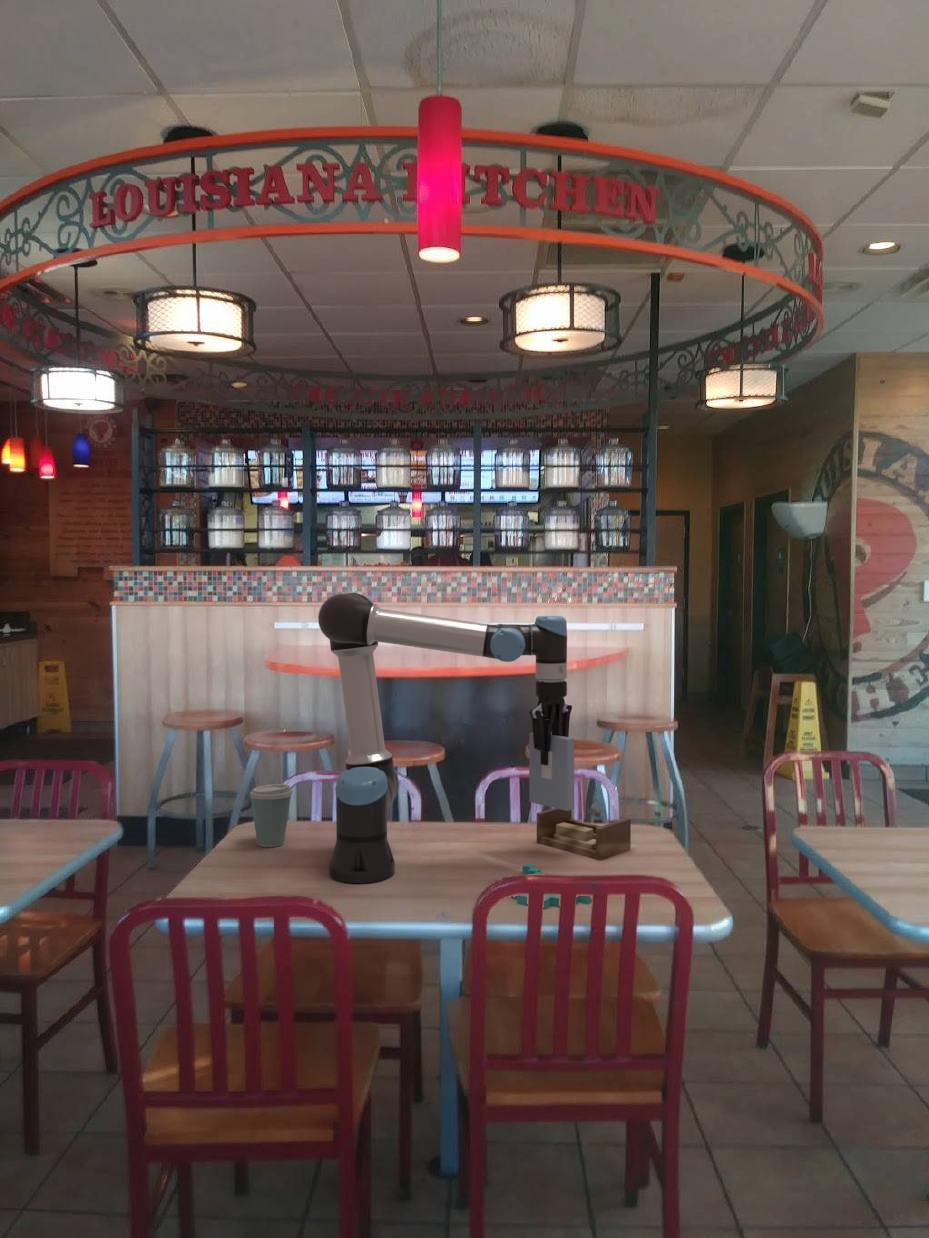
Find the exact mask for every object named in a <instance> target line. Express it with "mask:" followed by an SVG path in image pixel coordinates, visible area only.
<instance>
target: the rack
mask: <svg viewBox="0 0 929 1238" xmlns="http://www.w3.org/2000/svg"><path fill="white" fill-rule="evenodd" d="M631 820H632V819H631V818H627V817H626V818H625V817H624V818H623V819H619V820H617V821H613V822H611V823H607V824H604V825H597V824H594V823H590V822H585V821H582V820H578V819H573V818H572V810H569V811H566V810H561V809H557V808H553V807H552V808H548V809H546V810H543V811H539V812H537V813H536V843H537V844H540V845H544V846H547V847H551V848H554V849H558V850H561V851H564V852H565V851H566V852H569V853H572V854H576V855H578V856H582V857H586V858H590V859H593V860H595V861H596V860H597V861H604V860H607V859H609V858H612V857H614V856H617V855H620V854H623V853H626V852H629V851H631V844H632V843H631V842H632V841H631V836H632V835H631V834H632V833H631V831H632V830H631V827H632V822H631ZM563 822H564V823H569V824H573V825H578V826H582V827H587V828H592V829H593V839H595V840H596V850H592V849H589V848H585V847H582V846H578V845H574V844H571V843H567V842H563V841H560V840H556V839H554V834H556V825H557V824H560V823H563Z"/></svg>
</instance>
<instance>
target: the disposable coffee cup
mask: <svg viewBox="0 0 929 1238" xmlns="http://www.w3.org/2000/svg"><path fill="white" fill-rule="evenodd" d="M292 795H293V790H292V789H291V785H290V784H286V783H278V784H267V785H266V784H265V785H260V786H257V787H254V788H253V789H252V790H251V791H250V793H249V797H250V801H251V802H250V803H251V808H252V815H253V823H254V829H255V837H256V842H257V845H258V846H259V847H262V848H275V847H279V846H283V844H284V842H285V838H286V831H287V826H288V824H287V823H288V819H289V818H288V817H289V811H290V804H291V797H292Z"/></svg>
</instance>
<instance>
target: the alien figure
mask: <svg viewBox="0 0 929 1238" xmlns="http://www.w3.org/2000/svg"><path fill="white" fill-rule="evenodd" d="M535 866H536V864H535V863H528V862H526V863H525V864H523V865H522V874H523V875H527V874H546V872H541V868H537V867H535ZM510 875H512V874H509V875H508V876H510ZM511 899H514V900H516V902H517V903H516V904H518V905H524V906H528V905H527V895H518V896H515V897H512V896H511ZM559 899H560V897H559V896H558V895H546V897H545V901H544V908H543V910H547V909H549V908H550V907H551V906H553V907H557V908H559V907H558V906H559ZM591 902H592V901H591V897H590V896H578V897H576V905H577V904H579V903H581V904H586V905H588V904H590V903H591Z"/></svg>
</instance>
